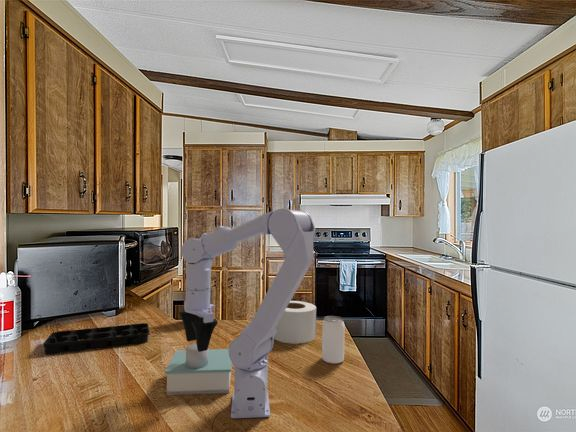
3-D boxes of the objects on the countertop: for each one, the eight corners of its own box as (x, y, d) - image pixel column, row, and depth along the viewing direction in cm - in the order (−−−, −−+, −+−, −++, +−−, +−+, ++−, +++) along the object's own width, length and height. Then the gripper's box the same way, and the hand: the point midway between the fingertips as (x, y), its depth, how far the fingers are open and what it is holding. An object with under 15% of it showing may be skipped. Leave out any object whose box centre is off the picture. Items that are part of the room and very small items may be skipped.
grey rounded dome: (210, 365, 79) (211, 348, 79) (188, 370, 76) (189, 352, 76) (203, 357, 83) (204, 341, 83) (182, 362, 80) (183, 345, 80)
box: (228, 393, 77) (229, 371, 77) (166, 395, 76) (167, 373, 76) (231, 370, 89) (232, 351, 89) (177, 371, 88) (178, 352, 88)
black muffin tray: (42, 344, 105) (42, 332, 105) (143, 328, 123) (143, 318, 123) (42, 364, 91) (43, 350, 91) (156, 342, 109) (156, 331, 109)
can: (326, 365, 93) (327, 322, 94) (318, 356, 100) (319, 316, 100) (347, 363, 95) (348, 321, 95) (338, 354, 101) (339, 314, 102)
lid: (231, 372, 77) (231, 369, 77) (164, 373, 75) (164, 371, 75) (233, 351, 89) (233, 348, 89) (176, 352, 88) (177, 350, 88)
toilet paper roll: (321, 333, 121) (322, 303, 121) (304, 347, 107) (305, 313, 107) (283, 326, 128) (284, 298, 128) (263, 338, 114) (263, 307, 114)
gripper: (226, 292, 76) (225, 351, 76) (203, 282, 88) (202, 333, 88) (196, 295, 72) (194, 358, 72) (176, 284, 84) (175, 338, 84)
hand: (196, 345), depth 80 cm, fingers open, 7 cm apart
